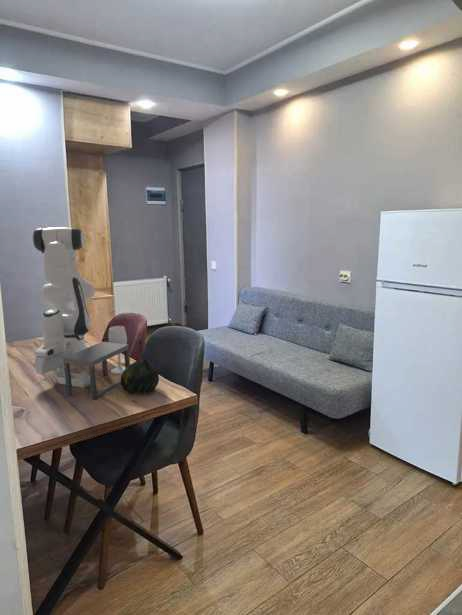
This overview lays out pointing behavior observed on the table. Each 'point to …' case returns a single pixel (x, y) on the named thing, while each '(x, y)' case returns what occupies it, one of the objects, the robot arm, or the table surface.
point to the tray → (76, 379)
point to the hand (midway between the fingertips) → (58, 376)
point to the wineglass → (119, 336)
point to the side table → (92, 358)
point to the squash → (140, 377)
